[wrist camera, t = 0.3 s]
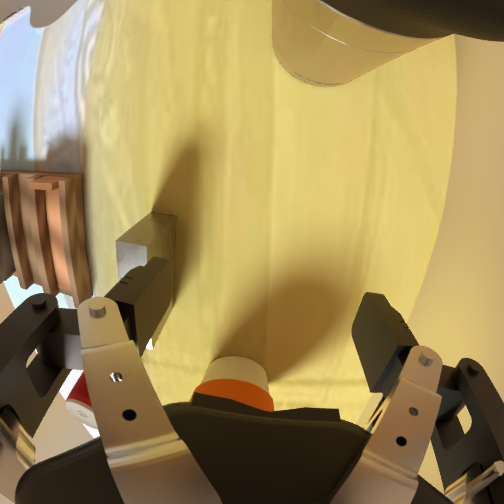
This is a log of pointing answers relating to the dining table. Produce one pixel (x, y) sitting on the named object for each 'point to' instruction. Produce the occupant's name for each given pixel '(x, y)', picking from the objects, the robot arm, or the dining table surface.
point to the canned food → (81, 403)
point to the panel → (148, 251)
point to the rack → (44, 232)
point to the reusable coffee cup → (237, 382)
